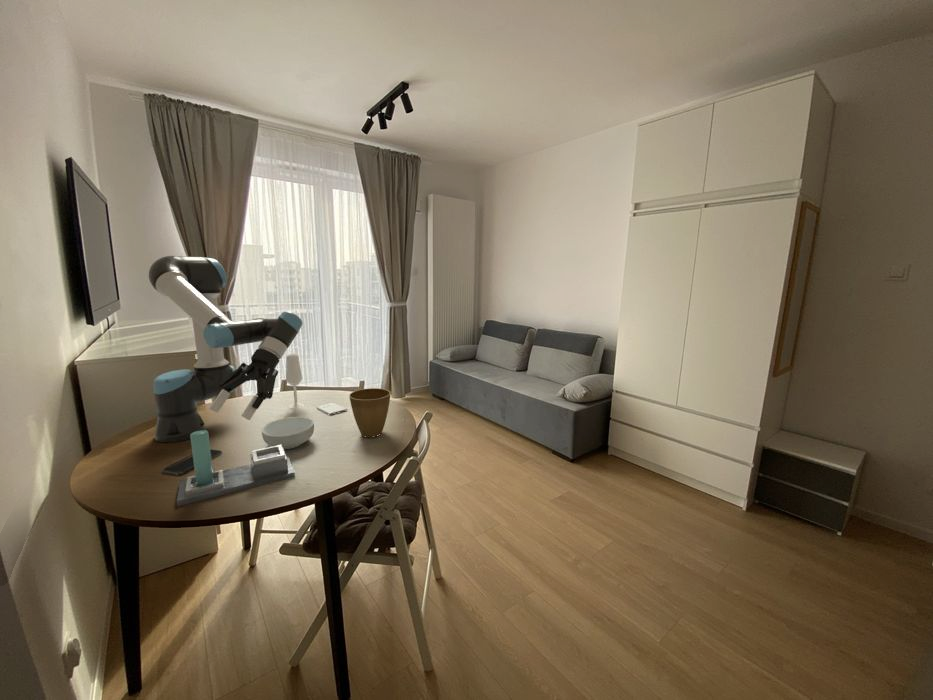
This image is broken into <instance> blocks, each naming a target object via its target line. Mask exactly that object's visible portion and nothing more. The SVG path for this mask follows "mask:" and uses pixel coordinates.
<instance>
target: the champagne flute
mask: <svg viewBox="0 0 933 700" xmlns="http://www.w3.org/2000/svg"><path fill="white" fill-rule="evenodd" d="M299 357H300V356H299V354H298V353H288V354H286V358H285V365H286V366H285V381H286V382H287V383H288V384H289V385H290V386H292V387H293V389H292V390H293V401H294V402H293V403H292V404H290V405H289V406H288V407H289V408H299V409H301V408H300V407H302V408H304V407H305V405H304V404H303V403H301V402H298V394H297V393H298V392H297V386H298V385H299V384H300V383H301V382H302V380H303V375H302V369H301V364H300V362H301V361H300V358H299ZM303 406H304V407H303ZM289 408H288V409H289Z"/></svg>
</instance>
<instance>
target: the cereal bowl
mask: <svg viewBox="0 0 933 700" xmlns="http://www.w3.org/2000/svg"><path fill="white" fill-rule="evenodd" d="M314 432H315V422H314V420H313V419H311V418H310V417H307V416H306V417H305V416H293V417H285V418H280V419H276V420H274V421H271V422H269V423H267V424H265V425H264V426H263V427H262V429H261V435H262V436H261V437H262V439H263V442H264V443H266V445H268V447H272V446H277V445H281V446H282V447H283V449H284V450H288V449H287V448H290V449H294V448H297V447H299V446H301V445H302V444H304V443H306V442H307V441H309V440H310V438H311V437H312V436H313V434H314ZM300 444H301V445H300ZM296 446H297V447H296ZM293 447H294V448H293Z"/></svg>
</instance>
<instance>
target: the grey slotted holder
mask: <svg viewBox="0 0 933 700" xmlns="http://www.w3.org/2000/svg"><path fill="white" fill-rule="evenodd" d="M249 456H250V464H246V465H242V466H238V467H237V466H236V467H233V468H229V469H228V468H227V469H224V470H223V469H219V470H213V477H214V483H212V484H208V485H203V486H199V487H197V484H196V476H195V475H191V476H186V478H182V479H180V480H179V486H178V492H177V498H176V506H177V507H181V506H184V505H188V504H189V505H190V504H192V503H196V502H200V501H205V500H209V499H212V498H215V497H221V496H225V495H228V494H232V493H235V492H240V491H244V490H248V489H251V488H256V487H260V486H263V485H268V484H271V483H276V482H279V481H284V480H287V479H292V478H295V475H296V474H295V472H296V471H295V470H294V467H293V465H292V462H291V459H290V457H289V455H286V452H285V449H283V447H282V446H281V445H277V446H272V447H271V446H268V447H263V448H262V447H261V448H259V449H254V450H251V454H250V455H249Z"/></svg>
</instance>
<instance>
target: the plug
mask: <svg viewBox="0 0 933 700" xmlns="http://www.w3.org/2000/svg"><path fill="white" fill-rule="evenodd" d="M209 436H210V435H209V430H201V431H196V432H193V433H191V434H190V438H191V439H190V443H191V452H192V453H191V454H193V461H194V476H196V484H197V487H199V486H203V485H208V484H212V483H214V477H213V471H214V470H213V463H212V460H213V459H212V460H211V452H210V449H211V445H210V444H211V443H210V437H209Z"/></svg>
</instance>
